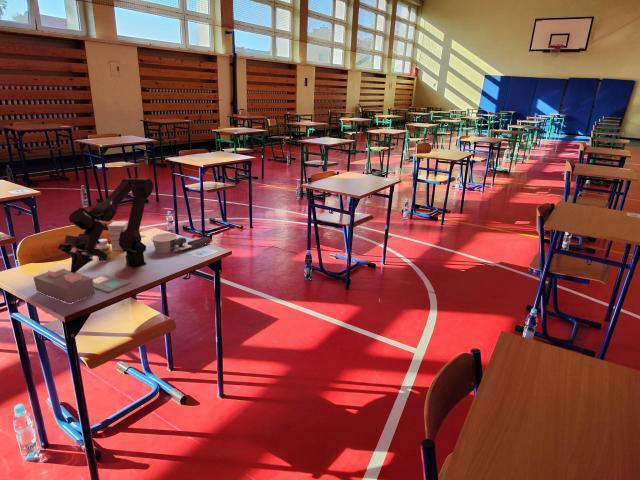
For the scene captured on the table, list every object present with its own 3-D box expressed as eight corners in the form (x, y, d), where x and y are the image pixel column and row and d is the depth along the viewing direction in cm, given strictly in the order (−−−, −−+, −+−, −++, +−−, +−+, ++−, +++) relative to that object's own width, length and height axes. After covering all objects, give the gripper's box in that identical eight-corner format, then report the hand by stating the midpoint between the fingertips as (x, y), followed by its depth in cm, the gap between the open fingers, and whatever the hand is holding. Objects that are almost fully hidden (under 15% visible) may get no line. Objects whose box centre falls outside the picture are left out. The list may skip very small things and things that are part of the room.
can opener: (179, 254, 198) (177, 241, 196) (173, 251, 201) (171, 239, 199) (211, 243, 212) (210, 231, 210) (205, 241, 215) (204, 229, 213)
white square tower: (116, 245, 208) (113, 221, 204) (132, 244, 209) (128, 220, 204) (111, 250, 201) (107, 225, 197) (127, 250, 202) (123, 225, 198)
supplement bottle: (103, 263, 186) (100, 243, 183) (96, 261, 189) (92, 240, 185) (114, 259, 191) (111, 239, 187) (107, 257, 193) (103, 237, 190)
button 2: (76, 281, 159) (74, 271, 157) (83, 283, 157) (81, 273, 156) (66, 285, 155) (64, 275, 154) (72, 287, 154) (70, 277, 152)
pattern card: (104, 274, 175) (104, 273, 175) (130, 283, 168) (130, 281, 168) (81, 284, 166) (81, 282, 166) (108, 293, 160) (108, 291, 159)
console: (62, 282, 167) (59, 267, 165) (95, 293, 159) (92, 278, 157) (37, 292, 159) (33, 277, 157) (69, 304, 150) (66, 288, 148)
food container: (147, 250, 202) (145, 237, 200) (168, 243, 211) (167, 231, 209) (162, 256, 196) (161, 242, 193) (183, 248, 205) (182, 236, 203)
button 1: (60, 275, 163) (58, 266, 162) (66, 277, 161) (64, 268, 160) (49, 279, 160) (47, 270, 158) (56, 281, 158) (54, 272, 156)
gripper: (57, 222, 156) (36, 260, 150) (96, 228, 151) (76, 267, 145) (78, 236, 166) (59, 272, 160) (115, 241, 161) (97, 279, 154)
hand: (72, 272), depth 154 cm, fingers closed
